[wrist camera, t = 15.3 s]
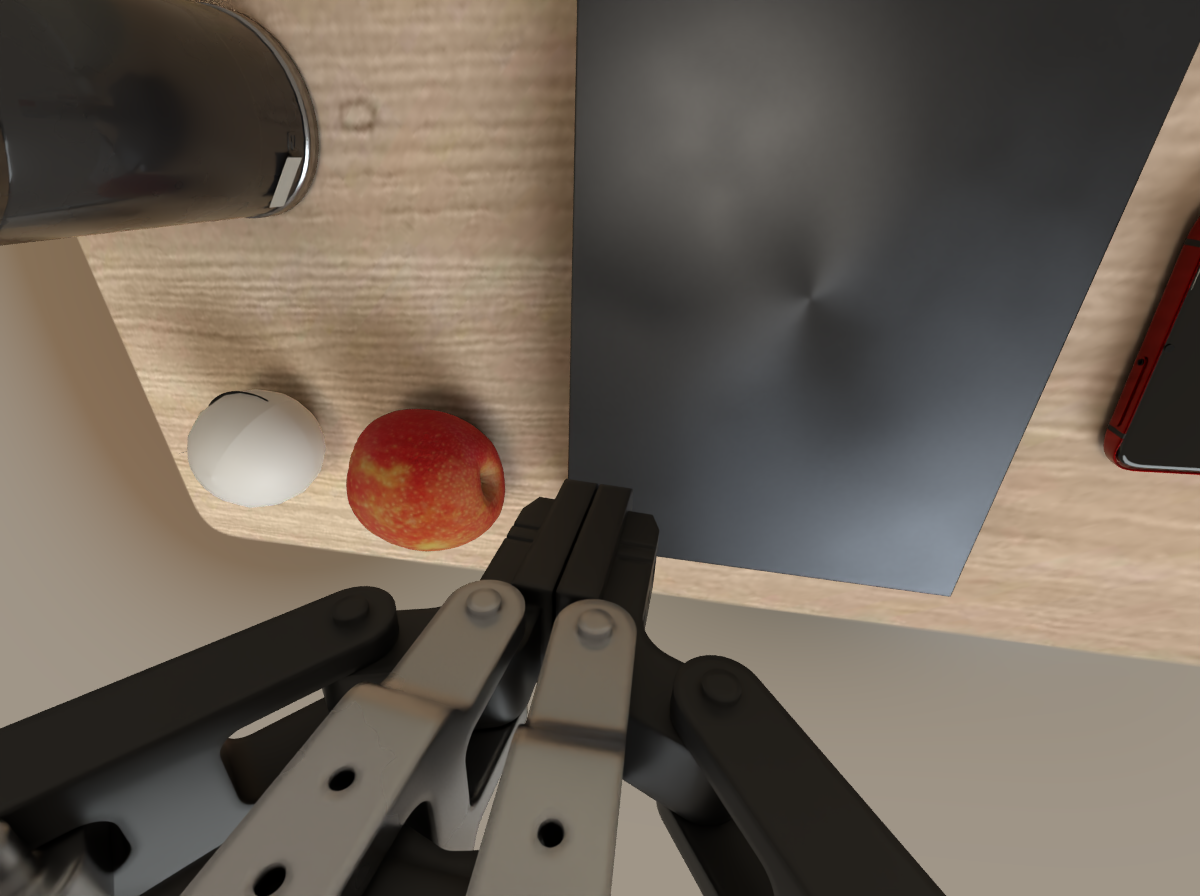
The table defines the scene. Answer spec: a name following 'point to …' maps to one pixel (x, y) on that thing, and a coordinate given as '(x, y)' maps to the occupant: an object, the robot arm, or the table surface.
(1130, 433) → the smartphone
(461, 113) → the table surface
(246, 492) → the white sphere
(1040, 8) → the laptop screen
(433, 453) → the apple
